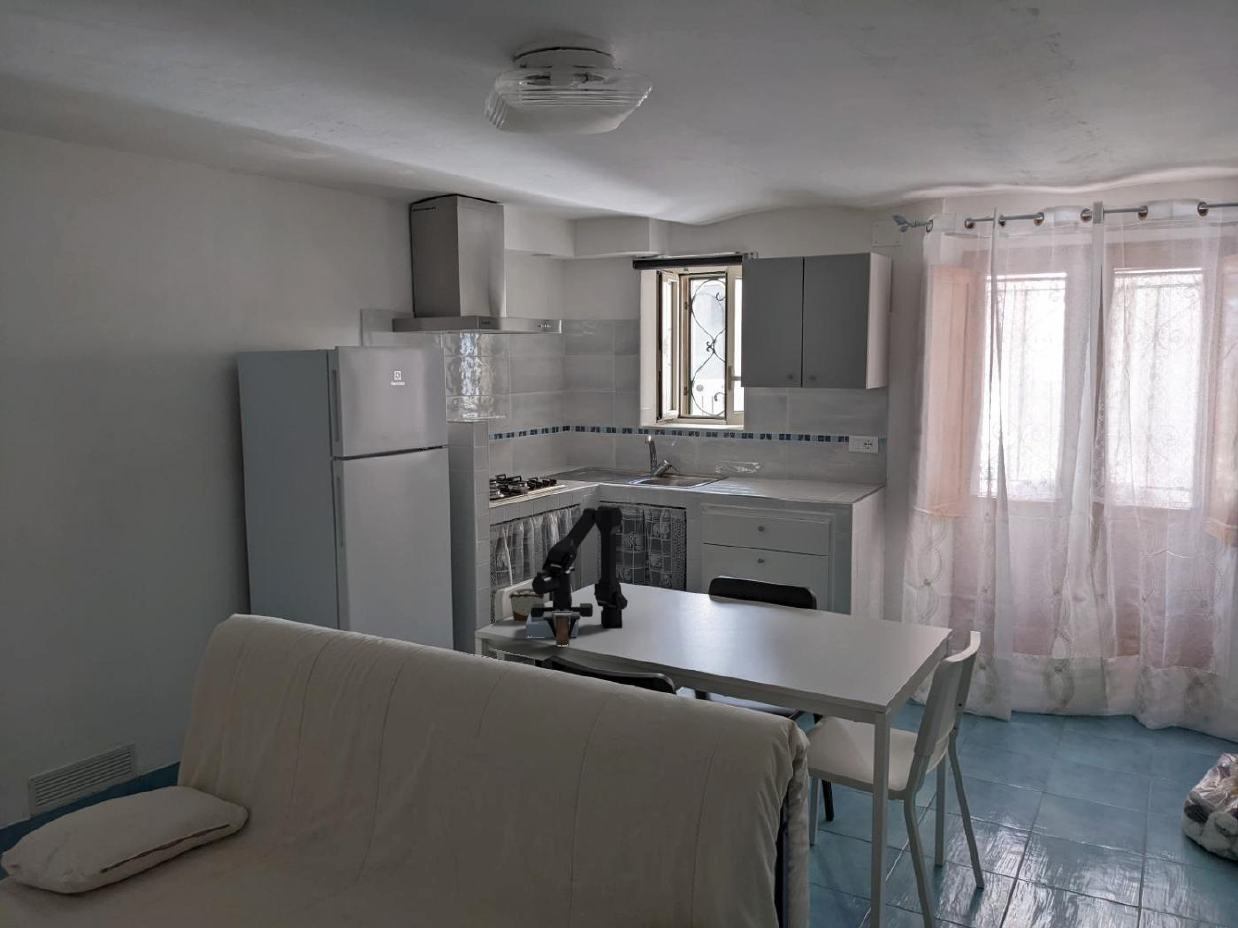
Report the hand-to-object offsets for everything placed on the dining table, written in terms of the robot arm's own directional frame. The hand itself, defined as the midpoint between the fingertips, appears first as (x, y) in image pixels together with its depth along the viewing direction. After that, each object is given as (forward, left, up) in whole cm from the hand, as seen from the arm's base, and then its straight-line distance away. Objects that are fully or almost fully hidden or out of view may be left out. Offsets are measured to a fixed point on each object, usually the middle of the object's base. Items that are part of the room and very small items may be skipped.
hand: (562, 637), depth 292 cm
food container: (+13, -27, -3) cm, 30 cm away
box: (+4, -12, -2) cm, 13 cm away
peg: (0, 0, -2) cm, 2 cm away
